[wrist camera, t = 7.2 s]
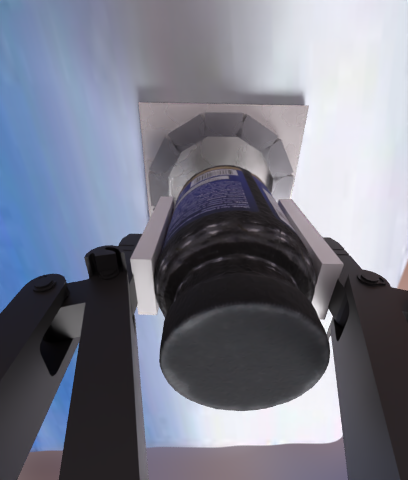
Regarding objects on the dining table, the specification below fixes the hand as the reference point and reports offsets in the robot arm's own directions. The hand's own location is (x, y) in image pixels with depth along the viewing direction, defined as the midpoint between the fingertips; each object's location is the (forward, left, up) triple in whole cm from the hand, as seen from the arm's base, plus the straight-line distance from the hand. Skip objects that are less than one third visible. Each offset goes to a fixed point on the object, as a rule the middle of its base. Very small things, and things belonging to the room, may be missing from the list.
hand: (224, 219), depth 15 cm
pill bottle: (0, 0, -2) cm, 2 cm away
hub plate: (0, 0, -7) cm, 7 cm away
